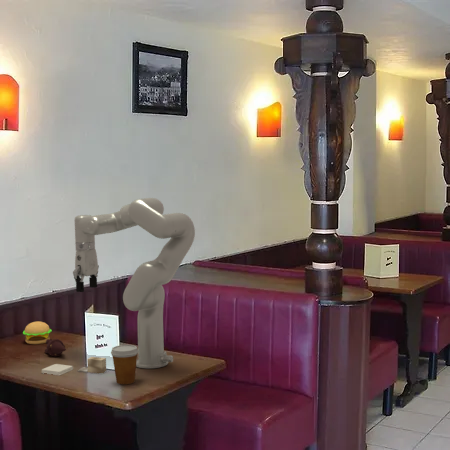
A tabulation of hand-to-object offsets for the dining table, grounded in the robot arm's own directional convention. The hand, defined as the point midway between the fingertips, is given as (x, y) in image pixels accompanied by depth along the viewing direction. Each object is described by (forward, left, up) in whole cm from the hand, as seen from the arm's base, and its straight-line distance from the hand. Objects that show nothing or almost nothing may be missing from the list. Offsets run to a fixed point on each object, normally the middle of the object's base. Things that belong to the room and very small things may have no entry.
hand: (86, 289), depth 282 cm
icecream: (+12, +5, -27) cm, 30 cm away
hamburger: (+33, -12, -27) cm, 44 cm away
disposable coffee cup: (-31, +27, -26) cm, 49 cm away
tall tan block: (-13, +20, -26) cm, 35 cm away
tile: (-5, +24, -26) cm, 35 cm away
